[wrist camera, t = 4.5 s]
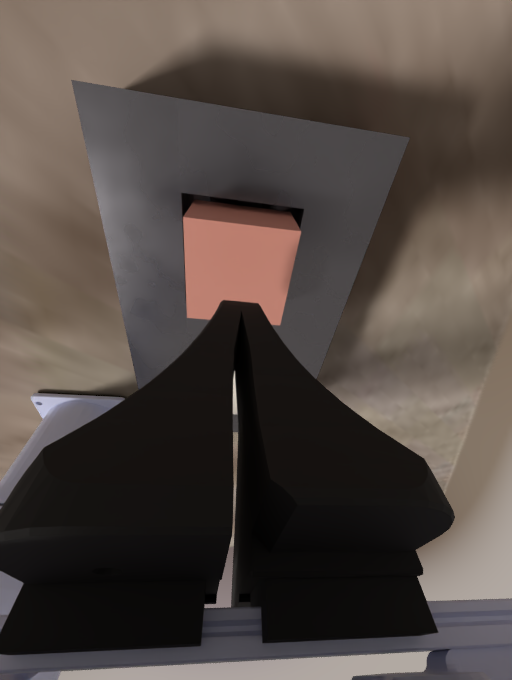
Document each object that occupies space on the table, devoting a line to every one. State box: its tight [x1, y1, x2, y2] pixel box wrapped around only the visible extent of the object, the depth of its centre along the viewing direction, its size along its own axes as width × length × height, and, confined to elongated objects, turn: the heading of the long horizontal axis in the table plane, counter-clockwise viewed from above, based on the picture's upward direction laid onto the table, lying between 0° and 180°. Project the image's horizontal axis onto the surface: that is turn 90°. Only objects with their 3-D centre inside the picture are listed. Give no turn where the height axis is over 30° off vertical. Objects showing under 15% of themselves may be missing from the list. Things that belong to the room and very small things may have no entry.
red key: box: [183, 200, 301, 325], centre depth 12 cm, size 4×4×3 cm
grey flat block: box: [72, 80, 410, 432], centre depth 17 cm, size 20×12×4 cm, turn 173°
